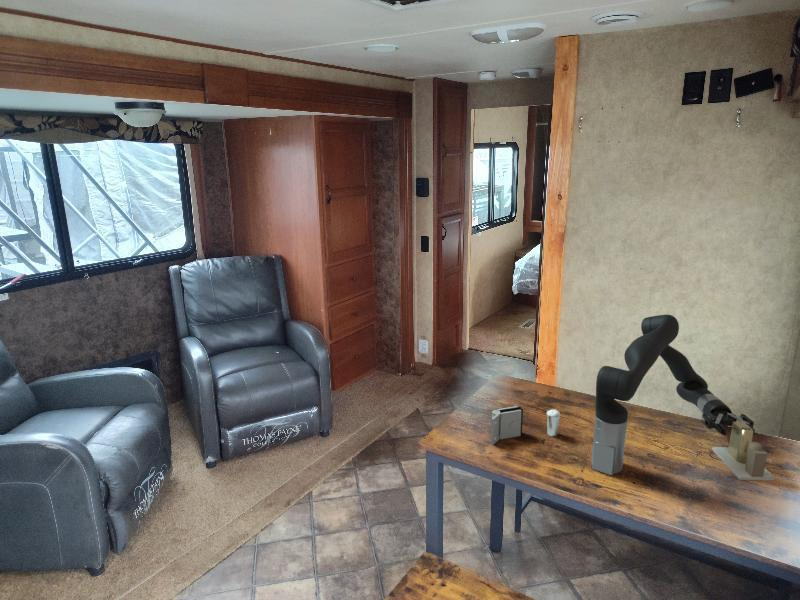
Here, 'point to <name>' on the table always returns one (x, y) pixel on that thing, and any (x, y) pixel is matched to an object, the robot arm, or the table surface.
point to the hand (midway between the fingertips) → (738, 433)
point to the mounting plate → (739, 466)
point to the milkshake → (552, 422)
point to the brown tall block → (740, 441)
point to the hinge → (506, 423)
